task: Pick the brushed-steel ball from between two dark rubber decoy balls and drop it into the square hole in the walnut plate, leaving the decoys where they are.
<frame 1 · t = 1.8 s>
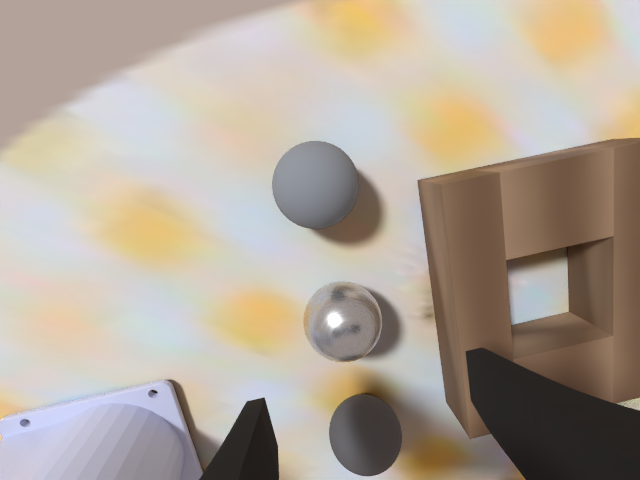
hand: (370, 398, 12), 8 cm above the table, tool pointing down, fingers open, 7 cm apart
steel ball: (342, 320, 18), point 2 cm above the table
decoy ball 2: (315, 185, 17), point 2 cm above the table
hole plate: (523, 279, 21), on the table
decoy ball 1: (365, 433, 20), point 2 cm above the table
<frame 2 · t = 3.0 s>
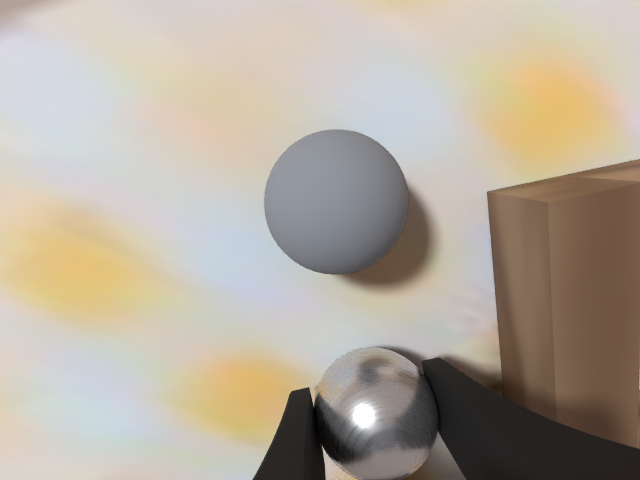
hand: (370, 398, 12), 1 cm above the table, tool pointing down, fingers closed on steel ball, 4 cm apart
steel ball: (374, 410, 12), point 2 cm above the table, touching gripper
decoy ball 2: (335, 203, 10), point 2 cm above the table
hole plate: (631, 334, 14), on the table
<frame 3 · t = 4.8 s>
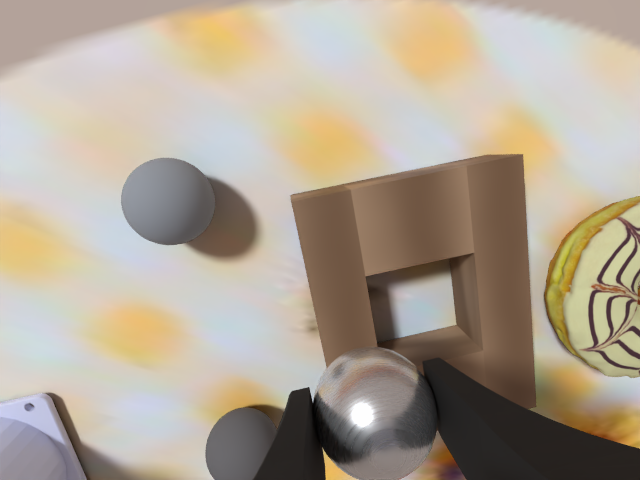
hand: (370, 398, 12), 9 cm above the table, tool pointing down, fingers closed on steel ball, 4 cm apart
steel ball: (373, 409, 12), point 9 cm above the table, touching gripper
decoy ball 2: (170, 202, 17), point 2 cm above the table
decorated donut: (608, 275, 22), on the table
hole plate: (407, 293, 21), on the table
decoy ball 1: (243, 446, 20), point 2 cm above the table
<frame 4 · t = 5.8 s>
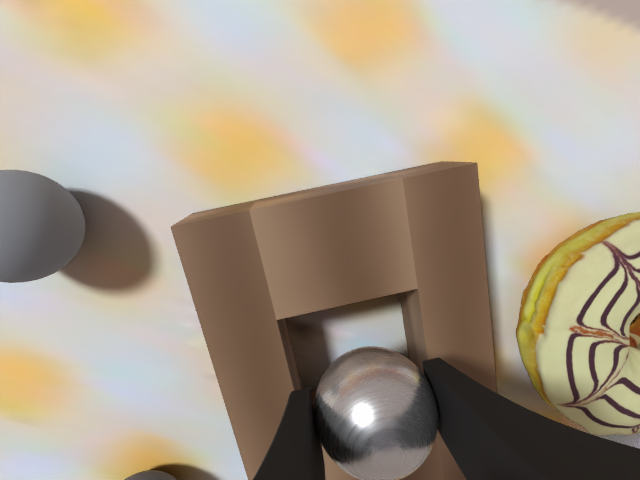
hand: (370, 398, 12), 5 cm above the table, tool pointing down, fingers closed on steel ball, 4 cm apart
steel ball: (374, 409, 12), point 6 cm above the table, touching gripper
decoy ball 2: (18, 226, 13), point 2 cm above the table
decorated donut: (596, 306, 19), on the table
hole plate: (347, 331, 17), on the table
when the fingers open (5 cm above the table, at t = 6.5 s): steel ball drops 4 cm, point 2 cm above the table.
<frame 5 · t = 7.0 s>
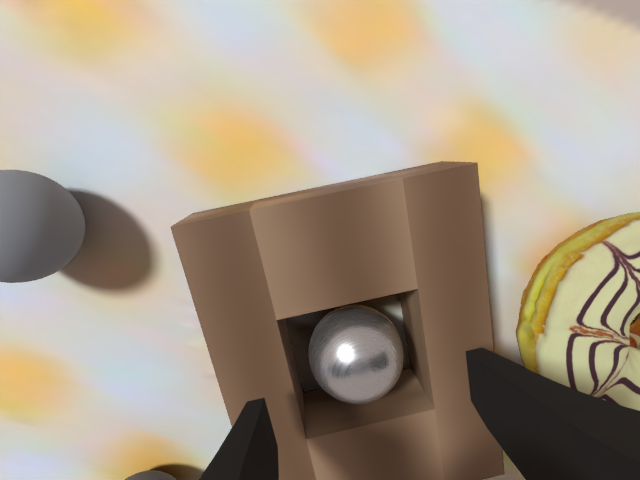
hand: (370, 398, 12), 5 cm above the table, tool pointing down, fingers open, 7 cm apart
steel ball: (355, 352, 15), point 2 cm above the table
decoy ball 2: (18, 226, 13), point 2 cm above the table
decorated donut: (596, 306, 19), on the table
hole plate: (347, 331, 17), on the table
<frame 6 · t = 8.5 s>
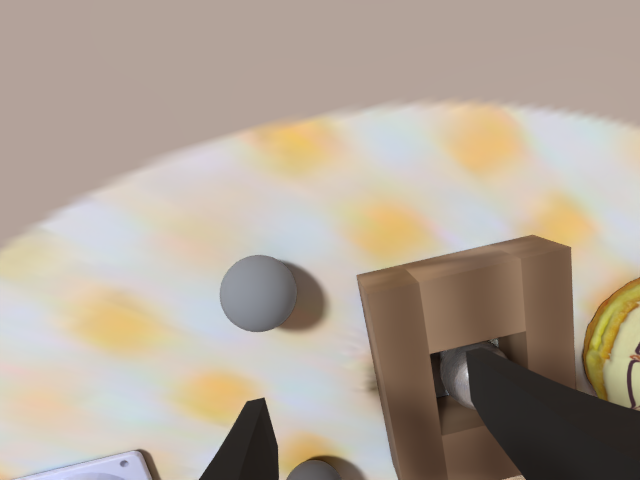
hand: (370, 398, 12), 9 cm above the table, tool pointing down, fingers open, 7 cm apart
steel ball: (475, 373, 21), point 2 cm above the table
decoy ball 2: (259, 293, 19), point 2 cm above the table
hole plate: (458, 356, 23), on the table
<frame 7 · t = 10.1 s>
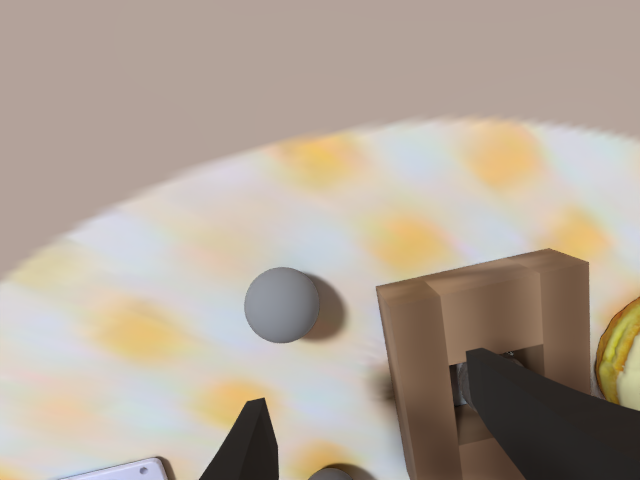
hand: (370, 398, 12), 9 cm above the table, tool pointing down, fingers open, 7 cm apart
steel ball: (493, 383, 22), point 2 cm above the table, tilted 7°
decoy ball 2: (282, 304, 19), point 2 cm above the table
hole plate: (473, 366, 23), on the table
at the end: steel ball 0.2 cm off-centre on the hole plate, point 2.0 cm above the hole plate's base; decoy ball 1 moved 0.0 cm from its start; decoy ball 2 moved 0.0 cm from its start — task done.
